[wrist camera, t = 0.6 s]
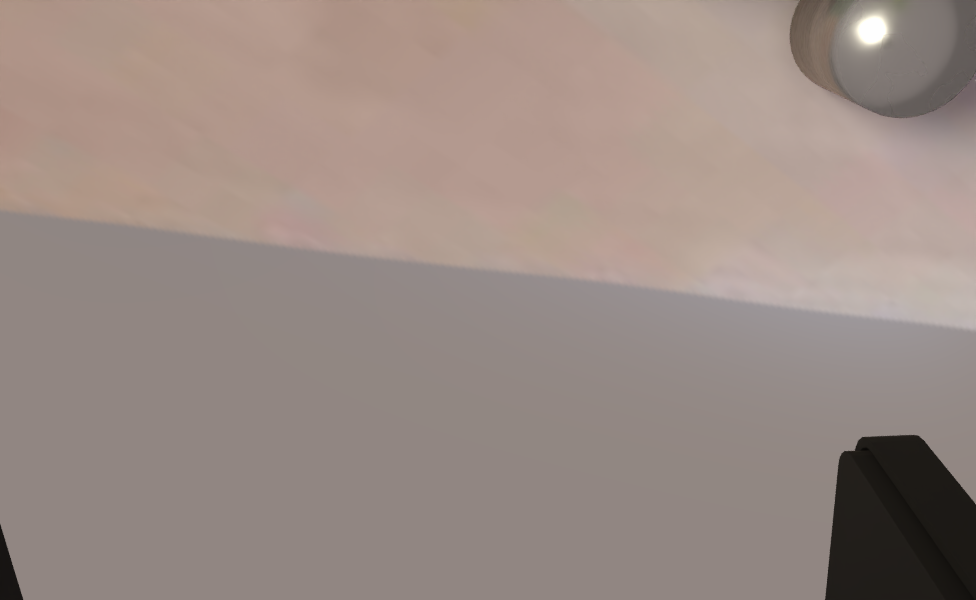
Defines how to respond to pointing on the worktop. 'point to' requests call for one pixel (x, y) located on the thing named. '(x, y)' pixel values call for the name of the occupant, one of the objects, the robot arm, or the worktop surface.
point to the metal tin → (887, 51)
